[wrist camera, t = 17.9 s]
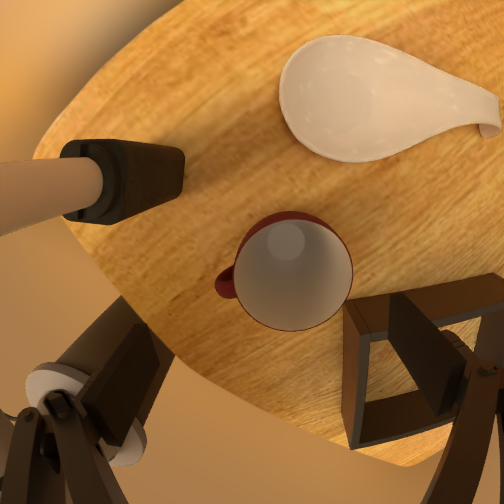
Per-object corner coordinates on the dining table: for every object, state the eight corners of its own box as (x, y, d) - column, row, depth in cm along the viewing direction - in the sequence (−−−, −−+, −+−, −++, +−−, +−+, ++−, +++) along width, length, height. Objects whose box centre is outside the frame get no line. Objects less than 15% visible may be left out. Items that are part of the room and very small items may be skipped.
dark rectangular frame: (340, 411, 35) (350, 450, 29) (342, 300, 31) (359, 335, 24) (470, 377, 34) (491, 405, 27) (493, 272, 29) (526, 293, 22)
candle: (133, 196, 29) (-99, 288, 5) (137, 145, 27) (-112, 150, 3) (181, 200, 29) (-48, 327, 5) (186, 148, 27) (-68, 129, 3)
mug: (251, 305, 31) (244, 363, 22) (206, 241, 30) (178, 278, 20) (341, 254, 29) (372, 295, 20) (300, 183, 28) (316, 193, 18)
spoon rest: (283, 166, 27) (288, 166, 20) (271, 49, 24) (272, 17, 17) (486, 166, 26) (527, 171, 19) (474, 69, 22) (511, 56, 16)
